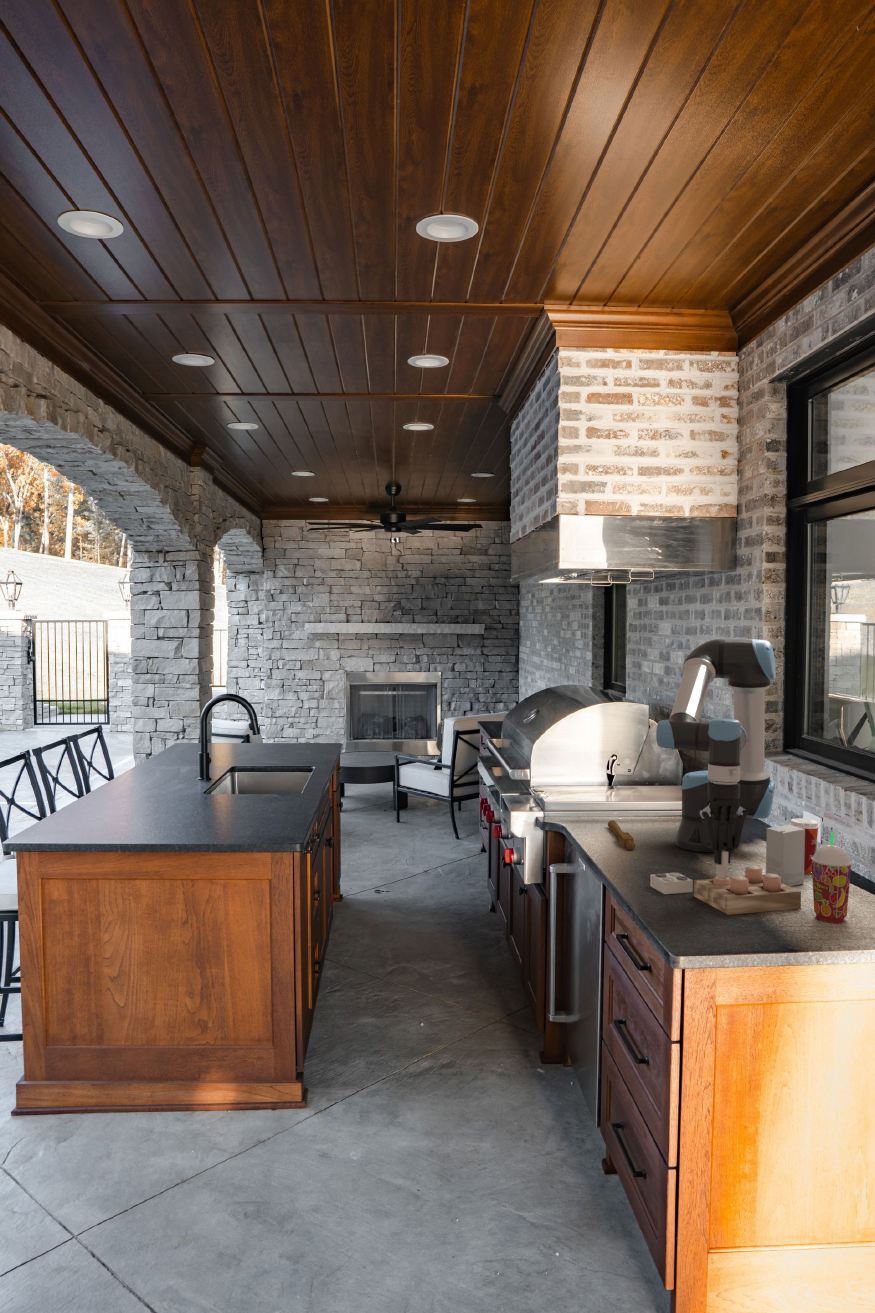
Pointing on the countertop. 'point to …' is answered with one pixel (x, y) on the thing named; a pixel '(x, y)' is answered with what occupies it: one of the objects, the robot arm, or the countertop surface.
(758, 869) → the button
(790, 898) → the board
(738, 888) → the button
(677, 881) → the white flat block
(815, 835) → the paper cup
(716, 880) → the button
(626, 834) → the tap handle
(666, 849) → the countertop surface
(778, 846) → the skincare box
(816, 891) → the smoothie
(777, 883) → the button
